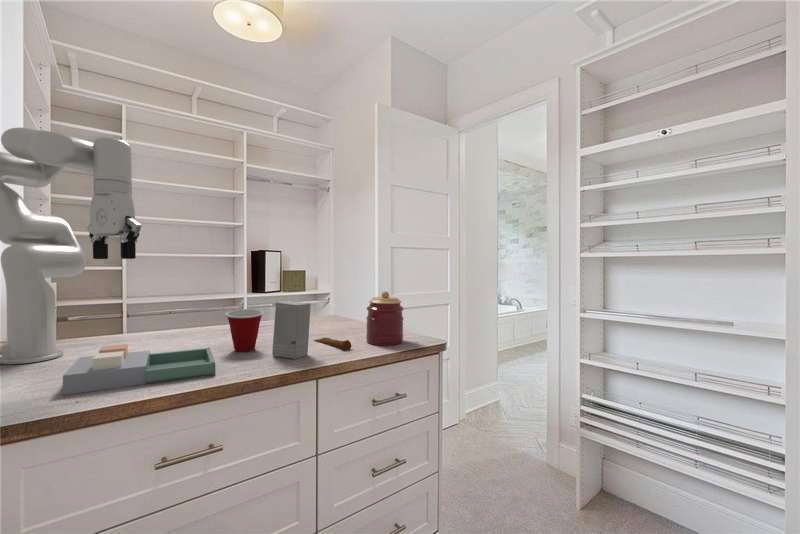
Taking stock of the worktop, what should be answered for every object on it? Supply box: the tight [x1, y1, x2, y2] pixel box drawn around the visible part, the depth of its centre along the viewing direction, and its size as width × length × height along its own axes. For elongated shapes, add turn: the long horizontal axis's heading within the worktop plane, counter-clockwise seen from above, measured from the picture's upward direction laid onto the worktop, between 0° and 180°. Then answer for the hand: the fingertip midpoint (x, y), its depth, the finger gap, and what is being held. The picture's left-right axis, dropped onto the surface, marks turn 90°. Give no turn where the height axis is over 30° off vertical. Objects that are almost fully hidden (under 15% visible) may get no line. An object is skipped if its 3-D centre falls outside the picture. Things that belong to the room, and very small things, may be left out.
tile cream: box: [92, 351, 124, 370], centre depth 82 cm, size 5×5×2 cm
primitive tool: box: [313, 337, 352, 352], centre depth 123 cm, size 19×6×4 cm, turn 41°
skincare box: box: [272, 300, 312, 360], centre depth 109 cm, size 8×7×16 cm
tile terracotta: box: [98, 343, 129, 359], centre depth 89 cm, size 5×5×2 cm
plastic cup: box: [225, 308, 264, 353], centre depth 114 cm, size 11×11×12 cm
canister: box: [365, 291, 405, 346], centre depth 128 cm, size 13×13×18 cm
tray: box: [145, 347, 216, 385], centre depth 93 cm, size 14×17×3 cm
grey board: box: [62, 350, 151, 396], centre depth 86 cm, size 14×16×4 cm
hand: (114, 258), depth 92 cm, fingers open, 9 cm apart
